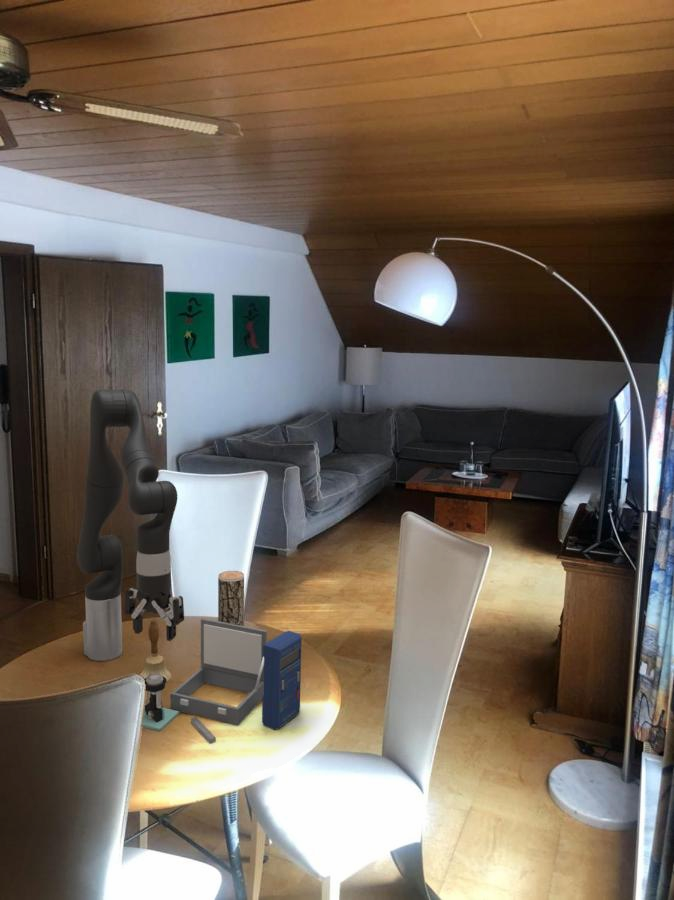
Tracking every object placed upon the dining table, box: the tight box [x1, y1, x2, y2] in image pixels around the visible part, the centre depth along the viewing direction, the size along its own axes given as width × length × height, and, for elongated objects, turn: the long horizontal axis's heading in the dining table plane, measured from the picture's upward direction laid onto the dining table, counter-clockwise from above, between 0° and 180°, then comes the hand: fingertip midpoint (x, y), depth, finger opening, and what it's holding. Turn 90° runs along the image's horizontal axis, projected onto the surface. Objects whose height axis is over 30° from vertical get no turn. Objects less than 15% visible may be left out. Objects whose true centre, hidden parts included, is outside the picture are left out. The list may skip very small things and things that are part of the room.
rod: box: [190, 716, 217, 744], centre depth 169 cm, size 10×1×1 cm, turn 36°
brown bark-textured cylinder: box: [217, 570, 245, 626], centre depth 200 cm, size 7×7×25 cm
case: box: [169, 618, 268, 726], centre depth 181 cm, size 19×16×17 cm
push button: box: [143, 673, 168, 722], centre depth 174 cm, size 7×5×10 cm
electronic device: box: [261, 630, 303, 730], centre depth 174 cm, size 10×5×20 cm, turn 148°
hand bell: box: [139, 619, 172, 683], centre depth 192 cm, size 8×8×16 cm
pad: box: [140, 707, 180, 732], centre depth 174 cm, size 8×8×1 cm
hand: (154, 636), depth 171 cm, fingers open, 8 cm apart
